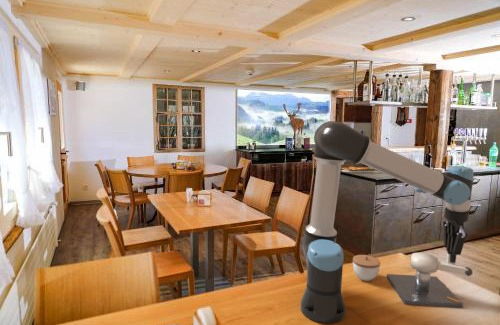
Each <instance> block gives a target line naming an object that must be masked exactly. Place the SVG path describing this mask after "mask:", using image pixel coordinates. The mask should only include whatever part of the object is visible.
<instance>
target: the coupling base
mask: <svg viewBox="0 0 500 325" xmlns="http://www.w3.org/2000/svg"><path fill="white" fill-rule="evenodd" d="M431 274H432V273H425V272H421V271H418V270H415V275H412V274H411V275H410V274H409V275H407V274H392V273H387V274H386V280H387V281H388V282H389V283H390V285H391V287H392V288H393V290H394V291H395V293H396V294H397V296H398V297H399V298H400V300H401V301H402V303H403V305H410V306H411V305H412V306H427V307H445V308H446V307H447V308H463V304H464V303H463V302H462V301H461V300H460V299H459V298H458V297H457V296H456V295H455V294H454V293H453V292H452V291H451V290H450V289H449V288H448V287H447V286H446V284H444V283H443V282H442V281H441V280H440V279H439V278H438V277H437V276H431Z"/></svg>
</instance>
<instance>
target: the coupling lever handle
mask: <svg viewBox="0 0 500 325" xmlns="http://www.w3.org/2000/svg"><path fill="white" fill-rule="evenodd" d="M410 259H411V260H410V267H411V268H412V269H413V270H415V271H416V270H418V271H421V272H425V273H431V274H434V273H436V272H437V271H438V270H439V271H443V272H447V273H451V274H456V275H462V276H466V277H470V276H472V275H473V269H472V268H470V267H469V266H465V265H458V264H456V263H455V264H450V263H446V261H445V262H444V261H439V259H438V257H436V256H434V255H432V254H430V253H429V254H428V253H425V252H413V253H411V257H410Z"/></svg>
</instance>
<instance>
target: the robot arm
mask: <svg viewBox="0 0 500 325" xmlns="http://www.w3.org/2000/svg"><path fill="white" fill-rule="evenodd" d="M313 140H314V141H313V142H314V152H313V158H314V159H315V161H316V162H317V163H316V170H315V181H314V188H313V196H312V204H311V205H312V206H311V212H310V213H311V215H310V222H309V224H308V225H306V226H305V229H304V231H305V232H304V236H303V237H302V241H301V248H302V252H303V255H304V258H305V263H306V268H307V269H306V287H305V289H304V291H303V292H304V293H303V294H302V297H301V300H300V312H301V313H302V314H303V315H304V316H305V318H308V319H309V320H311V321H313V322H316V323H320V324H334V323H338V322H340V321H342V320H344V318H345V317H346V304H345V300H344V296H343V293H342V285H343V284H342V282H343V271H344V270H343V267H344V262H345V261H344V260H345V258H344V257H345V256H344V251H343V248H342V247H341V245H340V244H338V243H336V242H337V237H338V236H337V234H338V231H337V230H336V229H335V228H334V224H335V218H336V216H335V215H336V208H337V202H338V193H339V185H340V176H341V169H342V165H343V164H344V163H346V162H350V163H352V164H355V165H359V164H362V165H365V166H367V167H369V168H371V169H373V170H376V171H378V172H381V173H382V174H384V175H387V176H389V177H391V178H393V179H396V180H398V181H400V182H402V183H404V184H407V185H409V186H412V188H413V189H414V191H415V192H417V193H423V194H426V193H427V194H429V195H431V196H433V197H436V198H438V199H440V200H442V201H444V202H445V208H444V215H443V216H444V219H446V220H447V221H443V222H442V225H443V242H444V243H443V246H444V248H445V249H446V250H445V251H446V252H447V253H446V260H445V263H450V264H455V265H456V262H457V256H459V255H460V256H461V254H462V251H463V248H464V245H465V241H466V239H467V237H468V232H465V231H464V229H465V226H464V223H467V222H468V220H469V214H470V211H469V210H470V209H471V208H470V207H471V200H472V192H473V186H474V185H473V183H474V175H475V174H474V169H473V168H471V167H468V166H462V165H453V166H450V167H449V169H448V171H445V172H442V171H440V172H439V171H437V170H435V169H433V168H430V167H429V166H426V165H424V164H422V163H419V162H417V161H415V160H413V159H410V158H408V157H406V156H404V155H401V154H399V153H397V152H395V151H394V150H391V149H388V148H387V147H384V146H382V145H381V144H380V145H379V144H377V143H376V142H372V139H371V138H370V137H369V136H367V135H366V134H363V133H362V132H360V131H357V130H356V129H354V128H353V127H352V126H350V125H348V124H346V123H344V122H339V121H335V120H332V121H331V120H328V121H325V122H323V123H322V124H320V125H319V126H318V127H317V128H316V130H315V131H314V135H313Z"/></svg>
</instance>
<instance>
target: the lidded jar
mask: <svg viewBox="0 0 500 325" xmlns="http://www.w3.org/2000/svg"><path fill="white" fill-rule="evenodd" d="M380 267H381V261H380V260H379V259H378V258H377V257H374V256H371V255H367V254H357V255H355V256H353V257H352V269H353V272H354V274H355V275H356V277H357V278H358V279H359V280H361V281H364V282H370V281H373V280H374V279H375V278H377V277H378V274H379V272H380Z"/></svg>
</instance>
